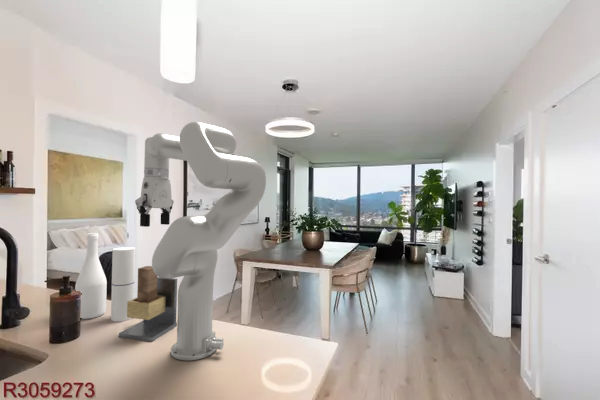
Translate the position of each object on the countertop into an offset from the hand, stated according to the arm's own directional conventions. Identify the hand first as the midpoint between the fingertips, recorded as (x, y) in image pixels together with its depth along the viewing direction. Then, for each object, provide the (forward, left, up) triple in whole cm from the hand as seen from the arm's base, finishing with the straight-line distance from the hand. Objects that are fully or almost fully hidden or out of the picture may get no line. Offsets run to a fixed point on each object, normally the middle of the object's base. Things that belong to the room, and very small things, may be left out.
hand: (155, 225), depth 102 cm
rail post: (-1, +4, -27) cm, 28 cm away
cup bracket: (-1, +3, -34) cm, 34 cm away
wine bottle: (+29, -3, -34) cm, 45 cm away
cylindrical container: (+16, -4, -34) cm, 38 cm away
